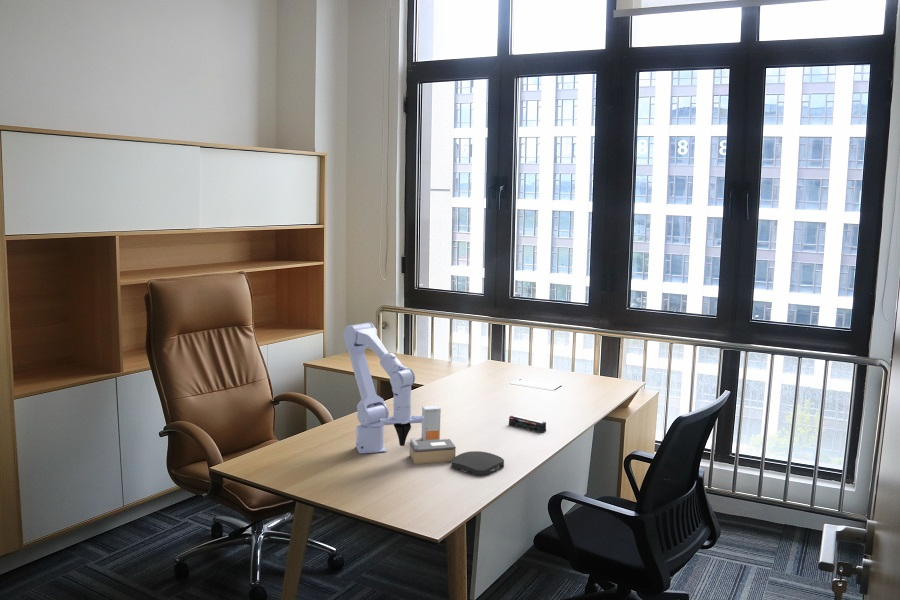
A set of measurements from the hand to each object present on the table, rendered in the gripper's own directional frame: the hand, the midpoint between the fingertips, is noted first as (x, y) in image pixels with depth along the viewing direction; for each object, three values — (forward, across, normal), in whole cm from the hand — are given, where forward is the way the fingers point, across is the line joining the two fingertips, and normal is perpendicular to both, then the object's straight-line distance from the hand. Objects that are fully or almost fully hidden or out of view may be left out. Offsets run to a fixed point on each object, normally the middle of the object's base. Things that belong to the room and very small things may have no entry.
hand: (401, 444), depth 257 cm
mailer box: (+6, +10, 0) cm, 12 cm away
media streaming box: (+6, +23, -10) cm, 26 cm away
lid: (+1, +10, 0) cm, 10 cm away
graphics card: (+6, +53, +26) cm, 59 cm away
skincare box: (+6, +14, +19) cm, 25 cm away
